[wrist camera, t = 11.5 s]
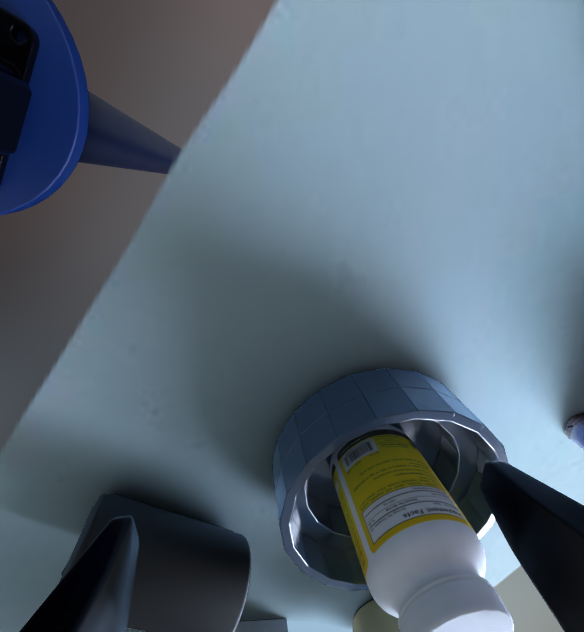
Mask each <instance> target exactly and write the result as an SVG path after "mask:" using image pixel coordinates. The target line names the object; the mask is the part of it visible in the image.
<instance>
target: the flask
mask: <svg viewBox="0 0 584 632" xmlns="http://www.w3.org/2000/svg"><path fill="white" fill-rule="evenodd" d="M572 425H574V426H573V427H572V428H571V427H570V428H567V427H568V426H572ZM564 433H565V434H566V435H567V437H568V438H569V439H570V440H572V441H573V442H574V443H576V444H578V445H579V446H580V447H581V448H582V449H583V450H584V413H583V414H581V415H576V417H572V418H571V420H570V421H568V423H567V424H566V431H565V432H564Z"/></svg>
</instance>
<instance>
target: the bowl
mask: <svg viewBox="0 0 584 632" xmlns="http://www.w3.org/2000/svg"><path fill="white" fill-rule="evenodd" d="M385 425H391V426H394V427H396V428H398V429H400V430H402V431H403V432H404V433H405V434H406V435H407V436H408V437H409V438H410V439H411V441H412V442H413V443H414V445H415V446H416V447H417V449H418V450H419V452H420V453H421V455H422V456H423V457H424V459H425V460H426V462H427V463H428V465H429V466H430V468H431V469H432V471H433V472H434V473H435V475H436V476H437V478H438V479H439V481H440V482H441V483H442V485H443V486H444V488H445V489H446V491H447V492H448V493H449V495H450V496H451V498H452V499H453V501H454V502H455V504H456V505H457V506H458V508H459V509H460V511H461V512H462V514H463V515H464V517H465V518H466V520H467V521H468V523H469V524H470V525H471V527H472V528H473V530H474V531H475V533H476V534H477V536H478V538H479V539H481V538H482V536H483V535H484V534H485V533H486V532H487V531H488V530H489V529H490V527H491V526H492V525H493V523H494V522H495V518H494V516H493V514H492V512H491V510H490V509H489V507H488V505H487V503H486V501H485V499H484V497H483V496H482V493H481V491H480V480H481V477H482V473H483V469H484V465H485V464H486V463H487V462H491V461H497V460H500V461H504V462H506V463H508V460H507V457H506V453H505V449H504V446H503V445H502V443H501V442H500V441H499V440H498V439H497V438H496V437H495V436H494V435H493V434H492V432H491V431H490V430H489V429H488V428H487V427H486V426H485V425H484V424H483V423H482V422H481V421H480V420H479V419H478V418H477V417H476V416H475V415H474V414H473V413H472V412H471V411H470V410H469V409H468V408H467V407H466V406H465V405H464V404H463V403H462V402H461V401H460V400H459V399H458V398H457V397H455V396H454V395H453V394H452V393H451V392H450V391H449V390H448V389H447V388H446V387H445V386H444V385H443V384H442V383H441V382H438V381H436V380H434V379H432V378H430V377H428V376H425V375H423V374H421V373H419V372H415V371H409V370H398V369H388V368H385V369H384V368H382V369H377V370H371V371H366V372H361V373H356V374H351V375H348V376H346V377H344V378H342V379H340V380H338V381H336V382H334V383H332V384H330V385H328V386H326V387H324V388H322V389H320V390H319V391H318V392H316V393H315V394H314V395H313V396H312V397H311V398H310V399H309V400H307V401H306V402H305V403H304V404H303V405H302V406H301V407H299V408H298V409H297V410H296V411H295V412H294V413H293V415H292V416H291V418H290V419H289V421H288V423H287V424H286V426H285V428H284V429H283V431H282V433H281V434H280V436H279V437H278V440H277V444H276V449H275V454H274V459H273V464H272V469H273V477H274V485H275V493H276V501H277V509H278V518H279V525H280V530H281V535H282V540H283V545H284V549H285V551H286V553H287V554H288V555H289V556H290V558H291V559H292V560H293V562H294V563H295V564H296V565H297V567H298V568H299V569H300V570H301V572H303V573H305V574H307V575H308V576H310V577H312V578H314V579H315V580H317V581H319V582H321V583H323V584H325V585H329V586H334V587H339V588H344V589H349V590H369V588H368V586H367V583H366V580H365V577H364V574H363V571H362V568H361V565H360V561H359V558H358V555H357V552H356V549H355V546H354V543H353V540H352V537H351V534H350V531H349V528H348V525H347V522H346V519H345V516H344V513H343V510H342V507H341V504H340V501H339V498H338V495H337V492H336V489H335V485H334V483H333V479H332V476H331V471H330V461H331V457H332V454H333V452H334V451H336V450H337V449H338V448H339V447H340V446H342V445H343V444H344V443H346V442H349V441H351V440H353V439H355V438H357V437H359V436H361V435H363V434H365V433H367V432H369V431H371V430H373V429H375V428H377V427H380V426H385Z"/></svg>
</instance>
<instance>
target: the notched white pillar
mask: <svg viewBox="0 0 584 632" xmlns="http://www.w3.org/2000/svg"><path fill="white" fill-rule="evenodd" d="M234 632H288V629H287V620H286V619H273V620H258V621H244V622H239V623H238V625H237V627H236V629H235V631H234Z"/></svg>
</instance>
